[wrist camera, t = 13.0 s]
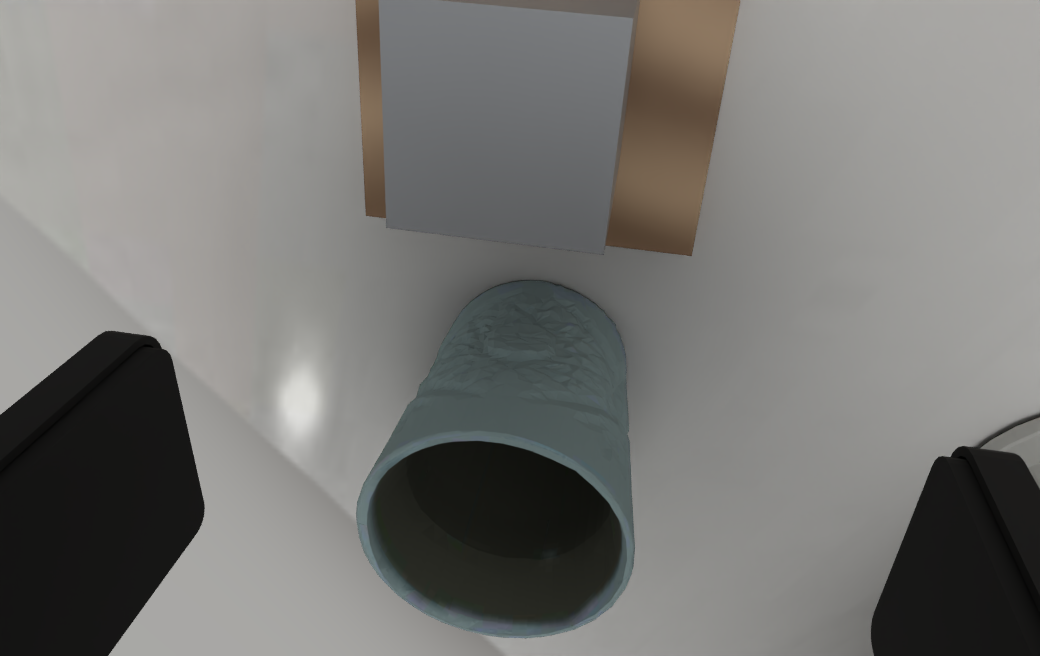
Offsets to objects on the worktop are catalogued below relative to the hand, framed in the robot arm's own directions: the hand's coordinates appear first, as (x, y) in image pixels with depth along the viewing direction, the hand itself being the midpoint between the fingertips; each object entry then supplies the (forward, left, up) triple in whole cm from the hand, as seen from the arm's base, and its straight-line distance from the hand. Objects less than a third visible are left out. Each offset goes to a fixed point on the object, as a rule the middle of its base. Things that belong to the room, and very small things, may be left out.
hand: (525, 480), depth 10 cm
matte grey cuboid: (-1, +3, -23) cm, 23 cm away
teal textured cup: (-15, +2, -24) cm, 29 cm away
